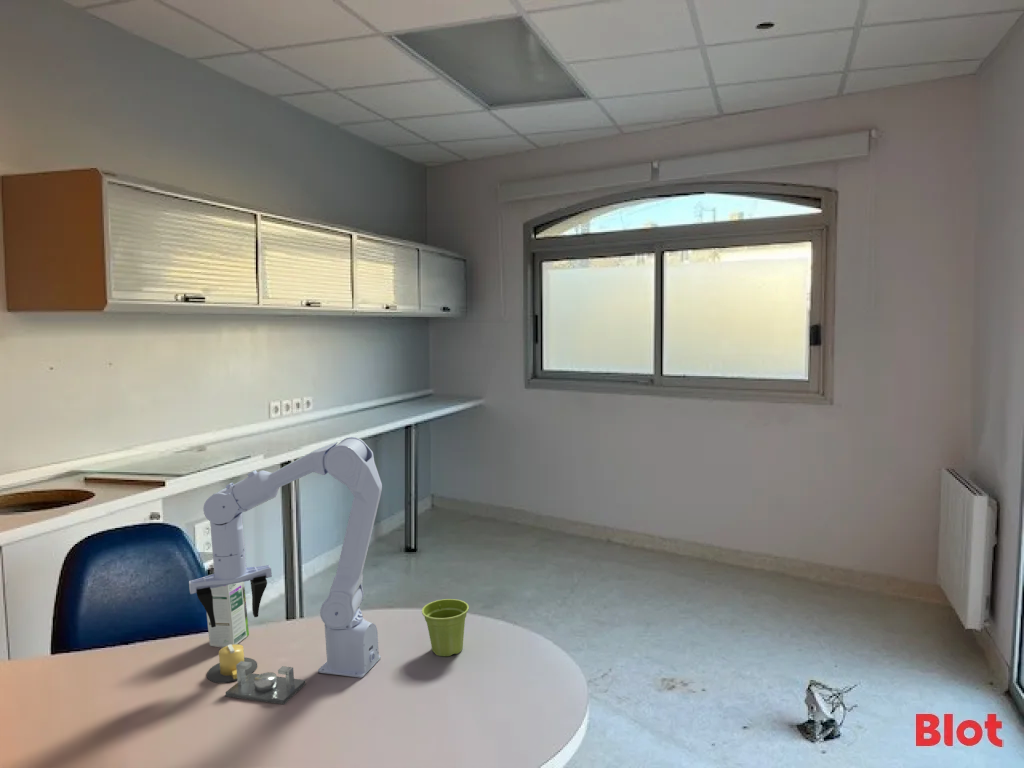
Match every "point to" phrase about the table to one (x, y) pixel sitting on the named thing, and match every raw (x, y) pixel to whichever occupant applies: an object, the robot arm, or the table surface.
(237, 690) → the grey plate with posts
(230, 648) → the cap
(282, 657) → the table surface
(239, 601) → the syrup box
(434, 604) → the plant pot
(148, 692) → the table surface
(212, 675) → the mat
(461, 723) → the table surface
